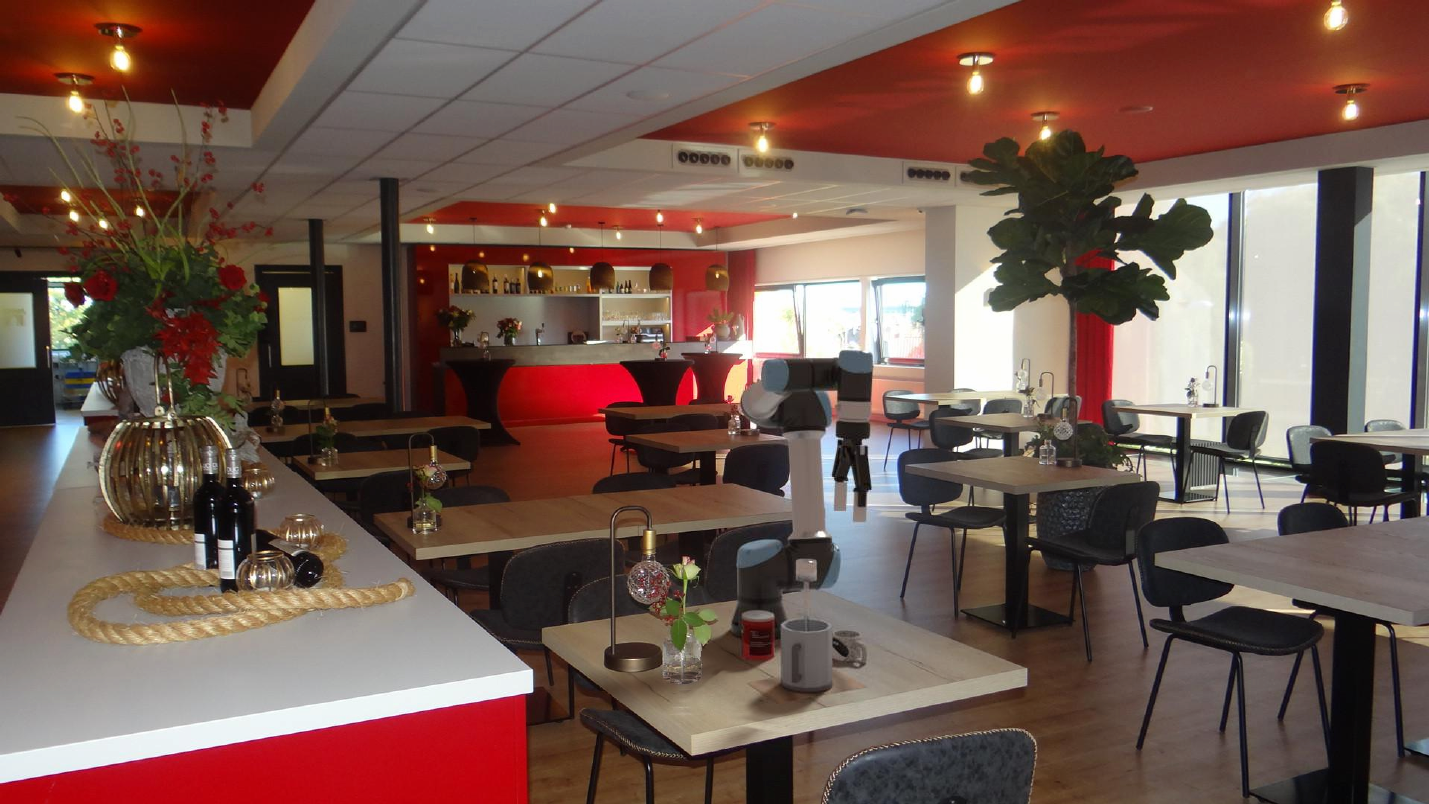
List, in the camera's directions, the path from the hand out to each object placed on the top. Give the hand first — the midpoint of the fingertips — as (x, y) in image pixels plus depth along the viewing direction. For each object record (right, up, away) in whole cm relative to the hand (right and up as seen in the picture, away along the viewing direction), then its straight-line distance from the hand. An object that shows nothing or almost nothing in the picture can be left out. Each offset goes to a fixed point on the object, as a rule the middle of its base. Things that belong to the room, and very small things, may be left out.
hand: (849, 516), depth 221 cm
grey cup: (-10, -36, -6) cm, 38 cm away
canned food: (-19, -36, +15) cm, 44 cm away
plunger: (-10, -27, -6) cm, 30 cm away
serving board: (-10, -37, -5) cm, 39 cm away
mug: (+2, -36, +12) cm, 38 cm away
